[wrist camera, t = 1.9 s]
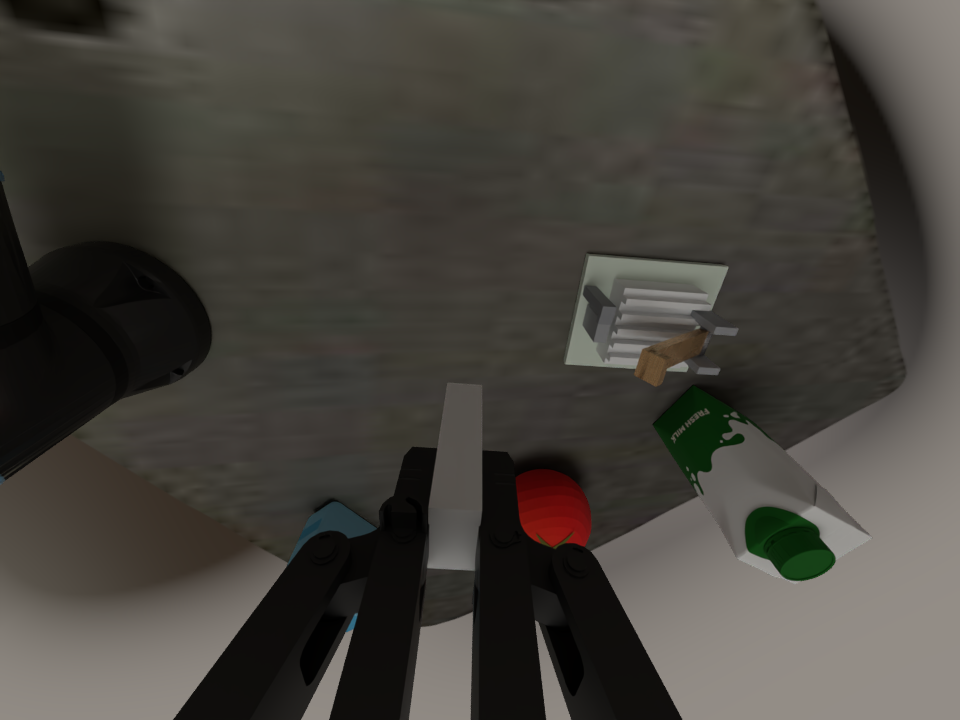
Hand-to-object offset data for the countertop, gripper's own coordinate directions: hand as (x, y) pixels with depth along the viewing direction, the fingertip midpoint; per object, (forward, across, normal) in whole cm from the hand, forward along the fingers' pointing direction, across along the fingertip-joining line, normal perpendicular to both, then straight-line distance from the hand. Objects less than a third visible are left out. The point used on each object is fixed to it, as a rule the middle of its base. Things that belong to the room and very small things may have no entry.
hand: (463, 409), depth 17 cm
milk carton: (+24, +29, -16) cm, 41 cm away
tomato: (+24, +11, -29) cm, 40 cm away
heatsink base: (+24, +18, -3) cm, 30 cm away
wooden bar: (+16, +18, -3) cm, 24 cm away
